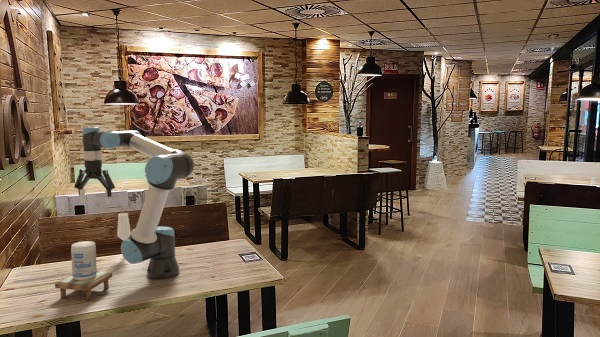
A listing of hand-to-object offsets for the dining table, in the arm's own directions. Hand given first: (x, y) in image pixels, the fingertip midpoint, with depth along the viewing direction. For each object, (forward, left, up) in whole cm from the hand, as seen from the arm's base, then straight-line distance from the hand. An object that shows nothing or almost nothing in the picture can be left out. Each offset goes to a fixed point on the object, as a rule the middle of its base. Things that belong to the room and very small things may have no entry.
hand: (95, 203), depth 211 cm
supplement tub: (-10, +24, -28) cm, 38 cm away
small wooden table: (-10, +24, -35) cm, 43 cm away
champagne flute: (0, -22, -35) cm, 41 cm away
